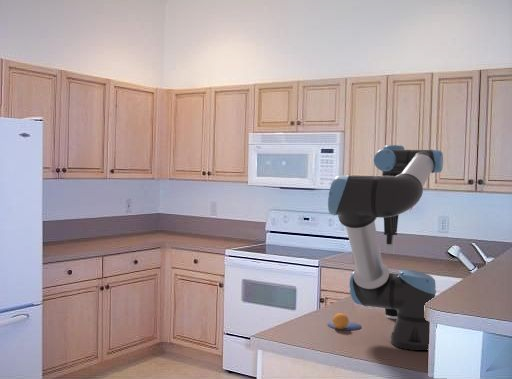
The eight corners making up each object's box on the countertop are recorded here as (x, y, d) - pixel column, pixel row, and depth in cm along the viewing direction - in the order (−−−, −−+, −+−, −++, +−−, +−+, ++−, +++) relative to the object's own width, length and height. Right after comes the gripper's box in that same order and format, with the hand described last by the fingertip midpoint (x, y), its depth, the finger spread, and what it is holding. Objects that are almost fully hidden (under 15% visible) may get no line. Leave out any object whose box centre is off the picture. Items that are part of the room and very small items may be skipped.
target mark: (368, 328, 201) (368, 327, 201) (341, 331, 195) (341, 331, 195) (347, 320, 211) (347, 319, 211) (321, 323, 206) (321, 322, 206)
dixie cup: (377, 316, 219) (378, 287, 219) (391, 313, 224) (392, 286, 223) (393, 320, 213) (394, 291, 212) (407, 318, 217) (408, 289, 217)
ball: (349, 317, 196) (349, 331, 197) (347, 310, 201) (347, 325, 202) (333, 317, 196) (333, 331, 197) (332, 310, 201) (332, 324, 202)
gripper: (387, 187, 212) (385, 250, 213) (376, 187, 201) (374, 253, 202) (407, 188, 209) (405, 252, 209) (397, 188, 197) (394, 255, 198)
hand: (389, 252), depth 206 cm, fingers closed
